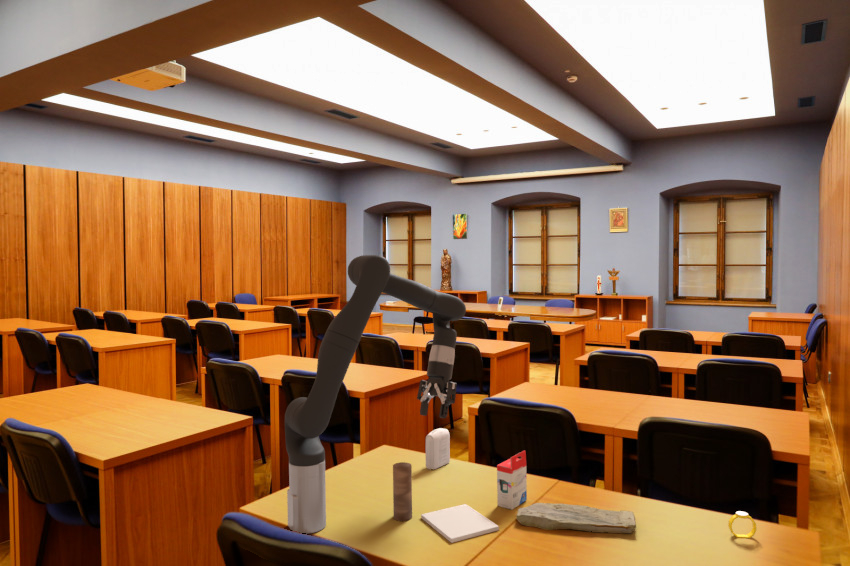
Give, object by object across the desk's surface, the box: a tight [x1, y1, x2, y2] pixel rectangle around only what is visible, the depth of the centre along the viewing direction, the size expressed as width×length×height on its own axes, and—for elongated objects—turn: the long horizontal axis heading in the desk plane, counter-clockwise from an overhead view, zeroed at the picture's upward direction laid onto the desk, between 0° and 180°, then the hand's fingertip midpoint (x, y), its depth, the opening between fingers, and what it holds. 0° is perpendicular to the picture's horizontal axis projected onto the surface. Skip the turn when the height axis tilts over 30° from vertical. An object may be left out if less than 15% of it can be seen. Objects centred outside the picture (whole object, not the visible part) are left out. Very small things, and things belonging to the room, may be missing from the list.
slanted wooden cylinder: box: [392, 461, 413, 522], centre depth 154 cm, size 5×5×14 cm
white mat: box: [420, 503, 500, 544], centre depth 149 cm, size 14×16×1 cm
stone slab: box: [515, 502, 637, 534], centre depth 150 cm, size 12×4×30 cm
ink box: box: [496, 450, 528, 510], centre depth 162 cm, size 8×5×15 cm, turn 141°
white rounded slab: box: [425, 427, 451, 470], centre depth 194 cm, size 10×4×12 cm, turn 143°
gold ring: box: [727, 510, 757, 539], centre depth 140 cm, size 6×3×6 cm, turn 82°
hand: (432, 416), depth 168 cm, fingers open, 8 cm apart
